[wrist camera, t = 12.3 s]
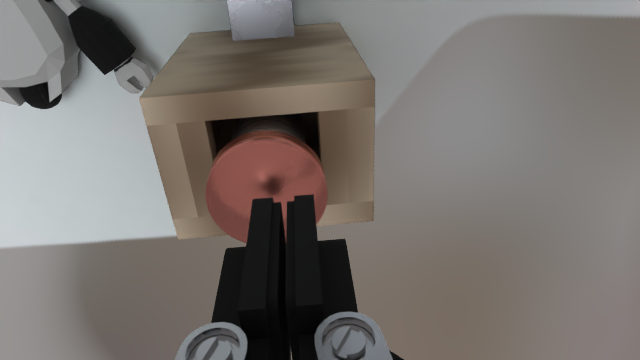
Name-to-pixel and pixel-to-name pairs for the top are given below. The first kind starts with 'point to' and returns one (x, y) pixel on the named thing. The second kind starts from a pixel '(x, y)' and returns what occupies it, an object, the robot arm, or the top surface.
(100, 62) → the robot toy
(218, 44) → the open wooden box
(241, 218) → the plunger
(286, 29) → the rail
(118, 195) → the top surface
